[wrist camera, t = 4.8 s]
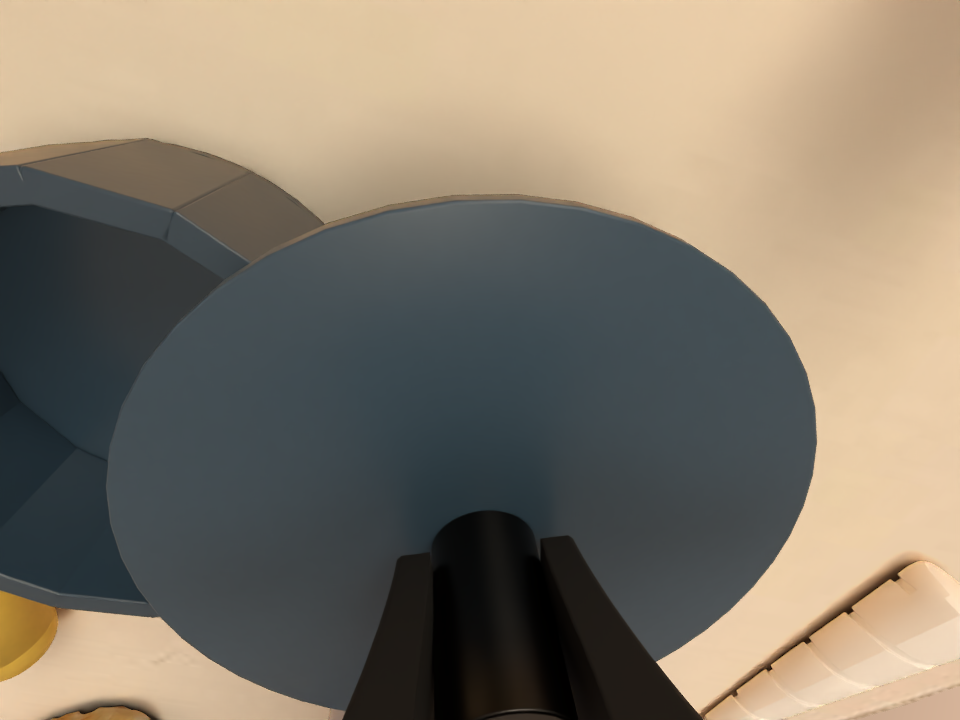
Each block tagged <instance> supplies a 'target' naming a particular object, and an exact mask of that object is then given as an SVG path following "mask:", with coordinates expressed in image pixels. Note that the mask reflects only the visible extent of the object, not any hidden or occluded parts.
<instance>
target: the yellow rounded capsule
mask: <svg viewBox="0 0 960 720" xmlns="http://www.w3.org/2000/svg"><path fill="white" fill-rule="evenodd" d="M57 626H58V617H57V612H56V609H55V607H51V606H48V605H45V604H41V603H38V602H35V601H32V600H29V599H26V598H23V597H19V596H16V595H13V594H10V593H7V592H4V591H0V682H1V681H4V680H7V679H10V678H12V677H14V676H17V675H19V674H20V673H22V672H24V671H25V670H27V669H28V668H29V667H31V666H32V665H33V664H34V663H36V662H37V661H38V660H39V659H40V658H41V657H42V656H43V655H44V654H45V652H46V651H47V650H48V648H49V647H50V645H51V643H52V641H53V639H54V637H55V635H56V632H57Z"/></svg>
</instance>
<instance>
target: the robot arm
mask: <svg viewBox="0 0 960 720" xmlns="http://www.w3.org/2000/svg"><path fill="white" fill-rule="evenodd" d="M540 562H541V566H542V571H543V575H544V579H545V583H546V587H547V591H548V595H549V599H550V604H551V607H552V611H553V615H554V619H555V623H556V628H557V632H558V636H559V640H560V644H561V648H562V652H563V656H564V661H565V665H566V669H567V673H568V677H569V681H570V685H571V689H572V693H573V698H574V702H575V706H576V710H577V714H578V718H579V720H703V719H702V717H701V716H700V715H699V714H698V713H697V712H696V711H695V709H694V708H693V707H692V706H691V705H690V704H689V702H688V701H687V700H686V699H685V698H684V696H683V695H682V694H681V693H680V692H679V690H678V689H677V688H676V687H675V686H674V684H673V683H672V682H671V681H670V679H669V678H668V677H667V676H666V674H665V673H664V672H663V671H662V669H661V668H660V667H659V666H658V664H657V663H656V662H655V661H654V659H653V658H652V657H651V655H650V654H649V653H648V651H647V650H646V649H645V648H644V646H643V645H642V644H641V642H640V641H639V640H638V638H637V637H636V635H635V634H634V633H633V631H632V630H631V629H630V627H629V626H628V624H627V623H626V622H625V620H624V619H623V617H622V616H621V615H620V613H619V612H618V610H617V609H616V608H615V606H614V605H613V603H612V602H611V600H610V599H609V597H608V596H607V594H606V593H605V591H604V590H603V588H602V587H601V585H600V584H599V582H598V580H597V579H596V577H595V576H594V574H593V573H592V571H591V569H590V568H589V566H588V564H587V563H586V561H585V559H584V558H583V556H582V554H581V552H580V551H579V549H578V547H577V545H576V543H575V541H574V539H573V538H572V537H570V536H569V535H565V536H557V537H549V538H541V539H540ZM433 630H434V592H433V568H432V562H431V556H430V552H428V553H420V554H412V555H404V556H401V557H400V558H398V559H397V562H396V567H395V571H394V576H393V580H392V584H391V587H390V591H389V595H388V598H387V601H386V605H385V608H384V611H383V614H382V617H381V620H380V624H379V627H378V629H377V632H376V635H375V638H374V640H373V643H372V646H371V649H370V651H369V654H368V657H367V660H366V663H365V665H364V668H363V670H362V673H361V676H360V678H359V680H358V683H357V685H356V688H355V690H354V692H353V695H352V697H351V700H350V702H349V704H348V707H347V709H346V711H342V710H336V709H331V708H330V714H329V720H434V668H433Z"/></svg>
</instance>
